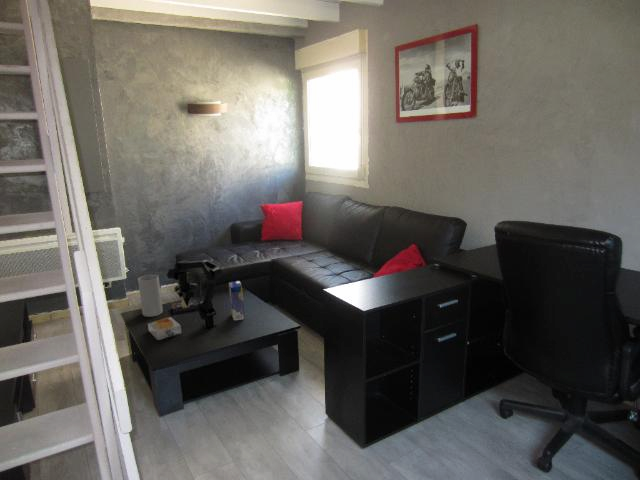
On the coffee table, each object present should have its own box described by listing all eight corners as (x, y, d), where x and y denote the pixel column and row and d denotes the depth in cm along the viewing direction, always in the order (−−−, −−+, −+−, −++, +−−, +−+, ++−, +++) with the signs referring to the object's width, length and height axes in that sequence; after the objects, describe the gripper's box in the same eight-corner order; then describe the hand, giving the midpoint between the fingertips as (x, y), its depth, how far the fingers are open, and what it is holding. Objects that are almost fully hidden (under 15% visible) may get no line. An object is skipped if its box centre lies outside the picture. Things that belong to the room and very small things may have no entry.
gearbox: (183, 334, 264) (182, 323, 262) (159, 342, 256) (158, 330, 254) (171, 324, 279) (170, 314, 277) (148, 331, 270) (147, 320, 269)
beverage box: (241, 312, 294) (239, 280, 288) (244, 319, 284) (242, 286, 278) (231, 314, 292) (228, 282, 286) (233, 320, 281) (230, 287, 276)
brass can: (191, 306, 280) (190, 295, 278) (183, 308, 277) (182, 297, 275) (188, 304, 283) (187, 293, 282) (181, 306, 281) (179, 295, 279)
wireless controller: (174, 315, 293) (171, 290, 289) (172, 308, 306) (169, 284, 302) (205, 310, 301) (202, 286, 297) (202, 303, 313) (200, 280, 309)
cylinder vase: (156, 317, 290) (151, 281, 284) (138, 316, 292) (133, 280, 286) (166, 310, 301) (162, 275, 295) (149, 309, 304) (145, 274, 298)
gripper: (201, 281, 274) (204, 305, 277) (189, 274, 288) (192, 297, 292) (184, 285, 267) (186, 310, 271) (172, 278, 281) (175, 301, 285)
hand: (185, 304), depth 280 cm, fingers closed on brass can, 5 cm apart
